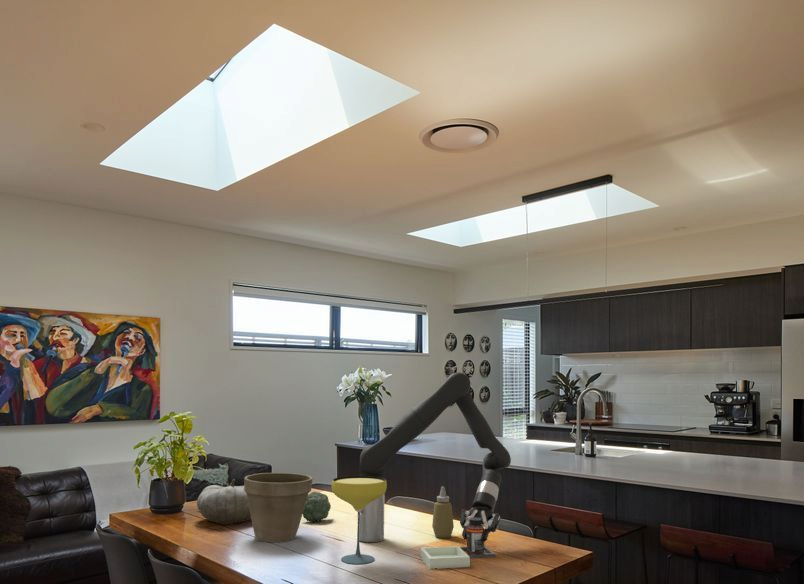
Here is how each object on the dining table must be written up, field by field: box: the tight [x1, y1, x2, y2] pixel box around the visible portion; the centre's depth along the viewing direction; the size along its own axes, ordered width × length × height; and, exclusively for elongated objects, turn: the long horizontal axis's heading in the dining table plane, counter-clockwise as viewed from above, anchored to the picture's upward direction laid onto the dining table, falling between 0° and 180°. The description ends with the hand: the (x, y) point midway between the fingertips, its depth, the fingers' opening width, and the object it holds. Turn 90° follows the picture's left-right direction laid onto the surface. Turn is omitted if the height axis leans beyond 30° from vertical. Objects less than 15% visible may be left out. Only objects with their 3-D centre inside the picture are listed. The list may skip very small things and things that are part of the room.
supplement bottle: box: [466, 517, 485, 554], centre depth 209 cm, size 6×6×11 cm
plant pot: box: [243, 472, 313, 543], centre depth 228 cm, size 25×25×22 cm
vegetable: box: [302, 491, 332, 523], centre depth 257 cm, size 12×13×15 cm
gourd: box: [196, 478, 252, 526], centre depth 253 cm, size 25×25×17 cm
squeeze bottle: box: [431, 486, 455, 539], centre depth 232 cm, size 8×8×18 cm
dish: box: [419, 545, 471, 570], centre depth 198 cm, size 13×13×3 cm
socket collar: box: [459, 545, 496, 559], centre depth 208 cm, size 10×10×1 cm
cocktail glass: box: [331, 475, 388, 565], centre depth 201 cm, size 18×18×25 cm
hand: (473, 539), depth 207 cm, fingers closed on supplement bottle, 6 cm apart
